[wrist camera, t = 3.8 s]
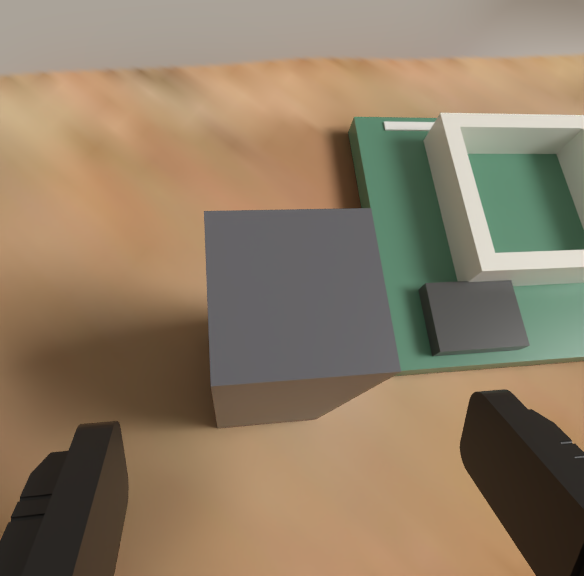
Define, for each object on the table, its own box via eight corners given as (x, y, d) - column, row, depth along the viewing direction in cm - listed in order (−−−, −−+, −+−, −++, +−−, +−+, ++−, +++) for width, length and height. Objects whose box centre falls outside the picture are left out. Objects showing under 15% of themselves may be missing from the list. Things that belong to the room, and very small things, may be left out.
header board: (390, 376, 20) (419, 360, 17) (348, 132, 25) (365, 86, 22) (648, 355, 22) (713, 338, 19) (565, 134, 27) (608, 93, 24)
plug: (217, 428, 18) (210, 386, 9) (212, 318, 20) (203, 188, 11) (316, 419, 19) (400, 371, 10) (303, 313, 21) (367, 187, 12)
